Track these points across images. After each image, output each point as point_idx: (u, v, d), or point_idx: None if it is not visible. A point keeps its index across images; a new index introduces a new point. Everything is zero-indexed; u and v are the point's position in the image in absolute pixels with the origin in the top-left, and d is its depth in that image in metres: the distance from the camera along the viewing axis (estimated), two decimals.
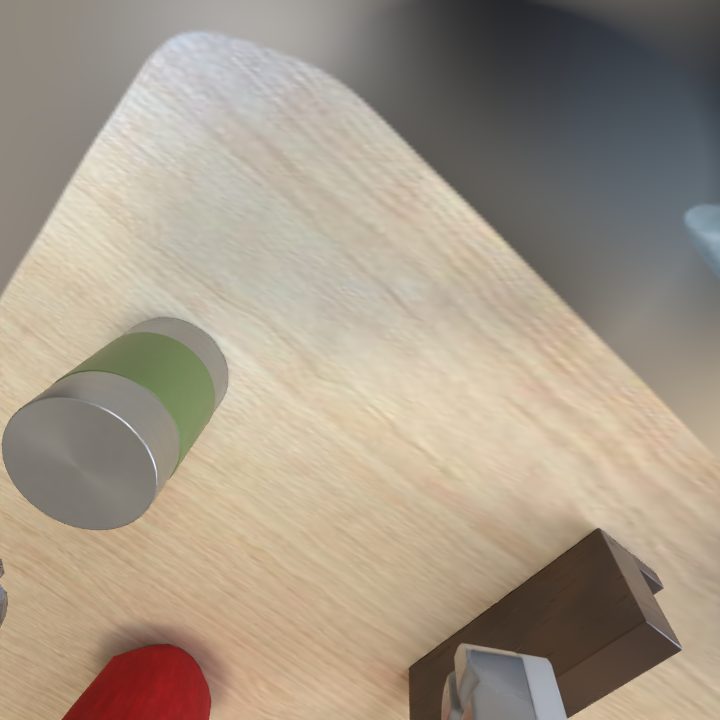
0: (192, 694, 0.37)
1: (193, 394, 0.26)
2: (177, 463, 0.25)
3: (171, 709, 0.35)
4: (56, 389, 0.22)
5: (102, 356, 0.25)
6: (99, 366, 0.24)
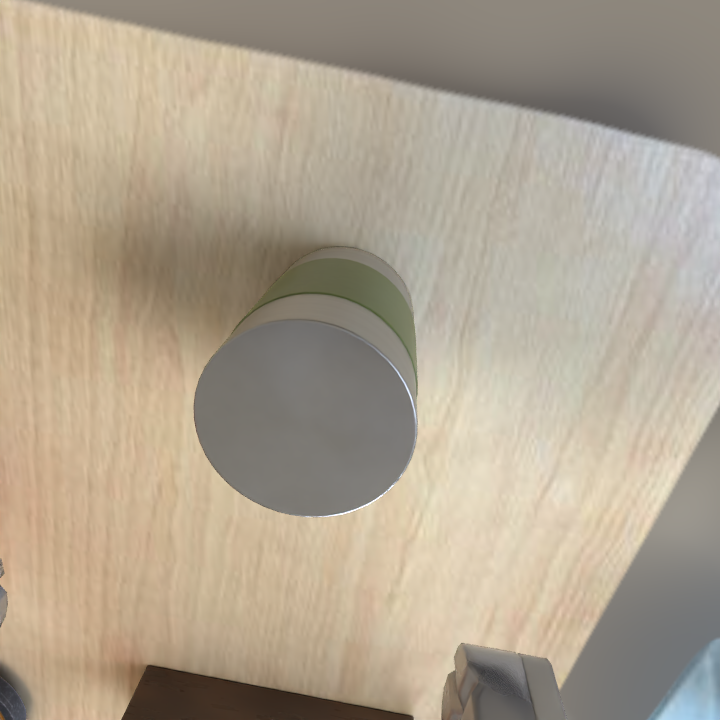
0: None
1: None
2: None
3: None
4: (389, 347, 0.15)
5: (396, 314, 0.18)
6: (404, 338, 0.17)
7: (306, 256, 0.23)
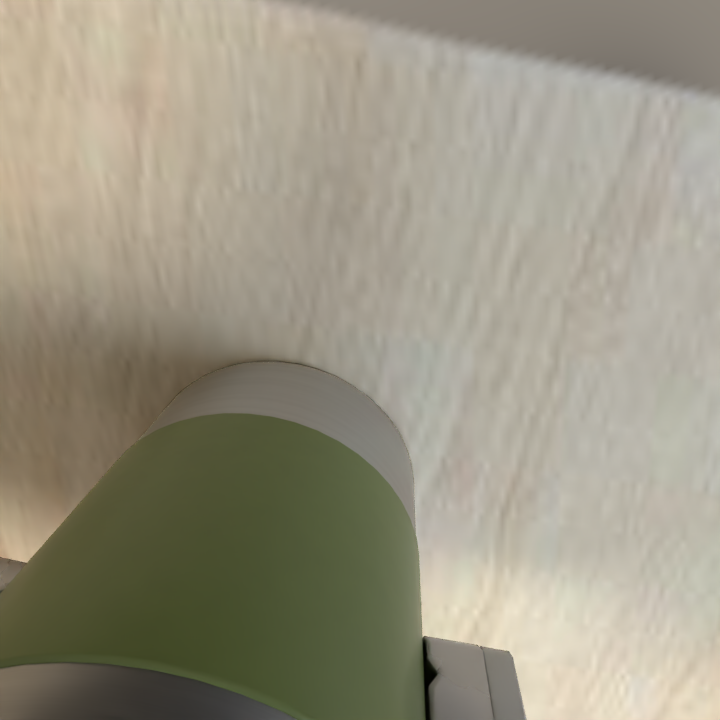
0: None
1: None
2: None
3: None
4: None
5: (372, 622, 0.07)
6: None
7: (202, 383, 0.12)
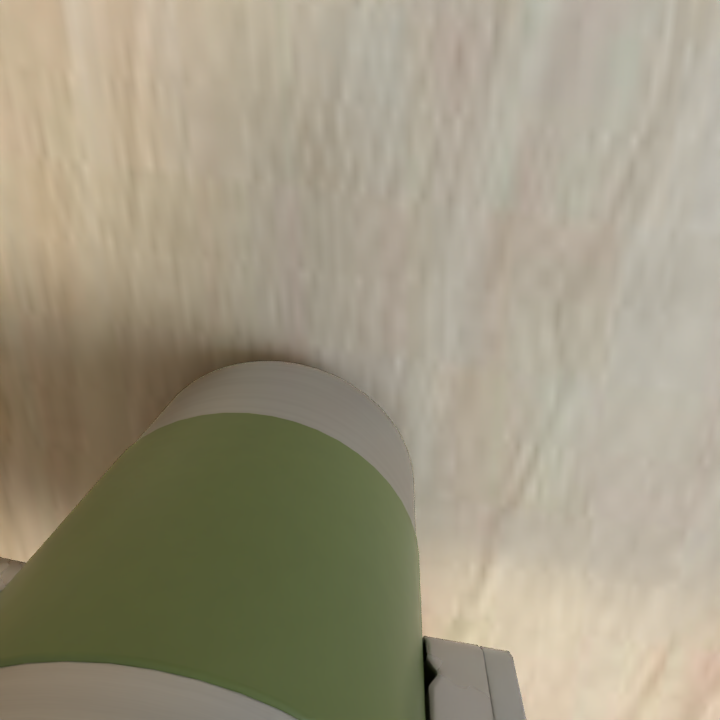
0: None
1: None
2: None
3: None
4: None
5: (372, 622, 0.07)
6: None
7: (201, 383, 0.12)
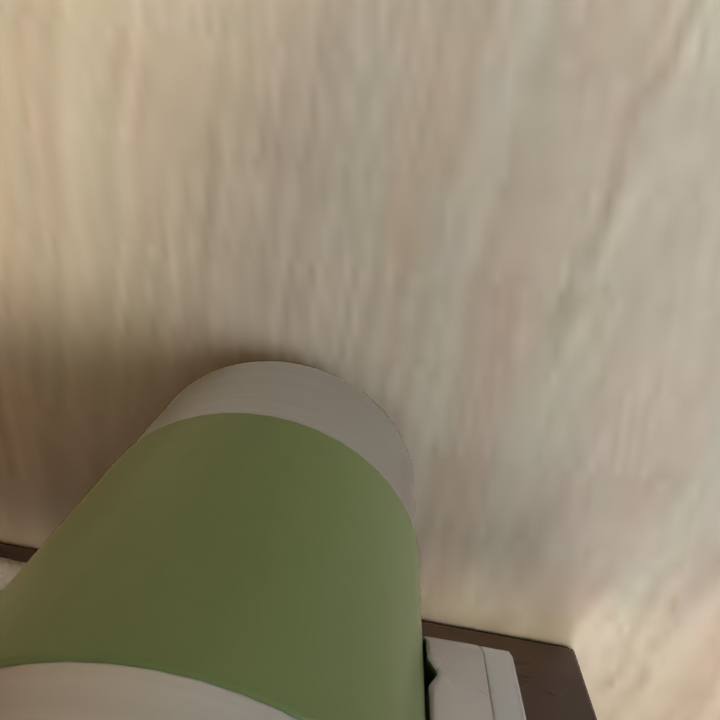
0: None
1: None
2: None
3: None
4: None
5: (372, 622, 0.07)
6: None
7: (201, 383, 0.12)
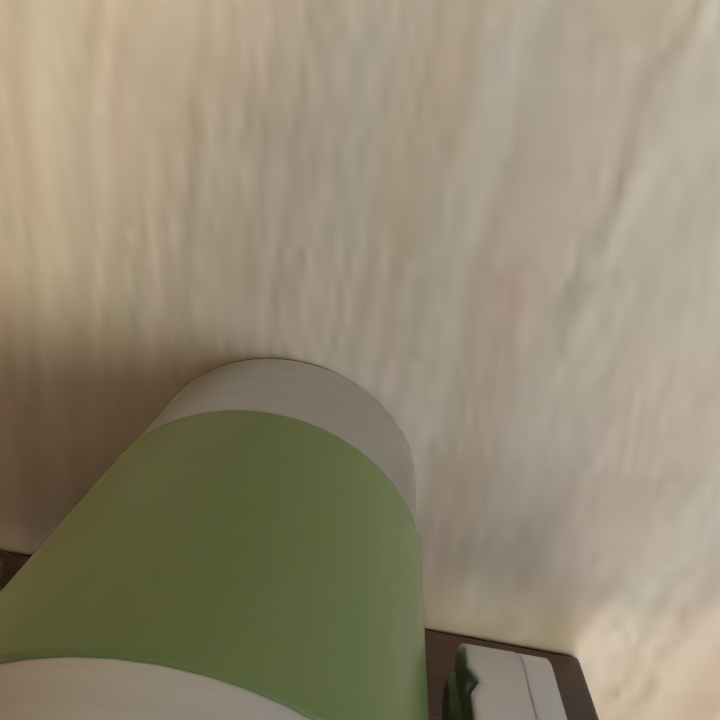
0: None
1: None
2: None
3: None
4: None
5: (375, 618, 0.07)
6: None
7: (203, 380, 0.12)
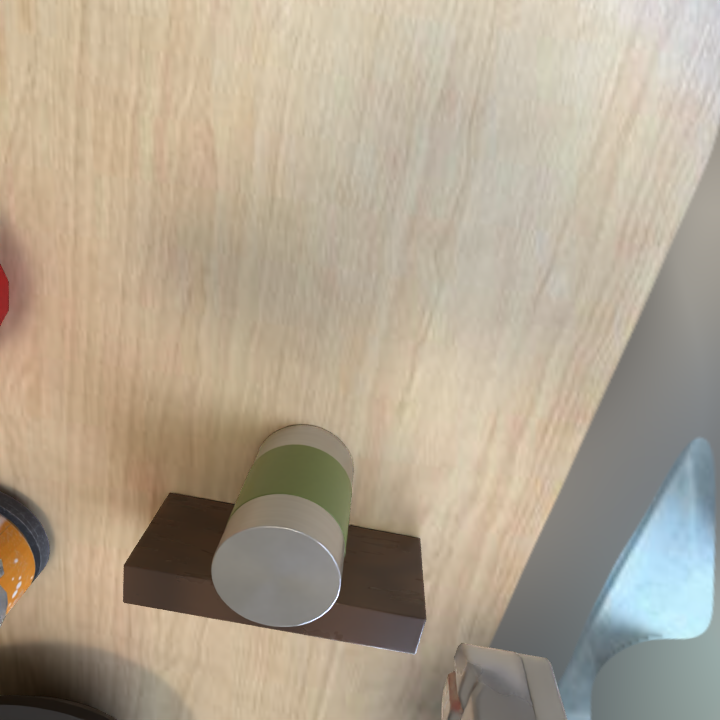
0: None
1: None
2: None
3: None
4: (324, 534, 0.27)
5: (334, 495, 0.30)
6: (337, 515, 0.29)
7: (280, 433, 0.34)
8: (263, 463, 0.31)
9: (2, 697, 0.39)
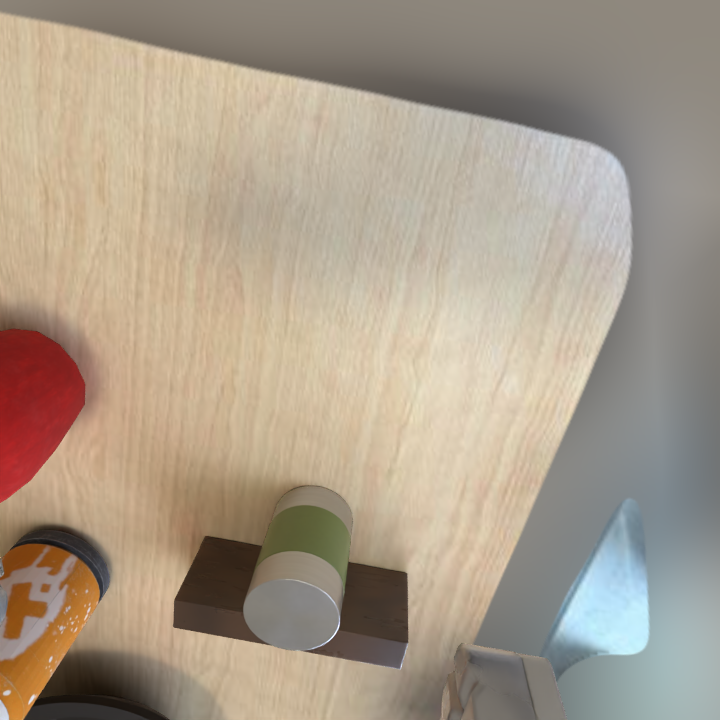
0: (74, 419, 0.38)
1: None
2: None
3: (63, 417, 0.36)
4: (327, 583, 0.35)
5: (335, 549, 0.39)
6: (337, 566, 0.38)
7: (293, 492, 0.43)
8: (281, 521, 0.40)
9: (73, 696, 0.49)
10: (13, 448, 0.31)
